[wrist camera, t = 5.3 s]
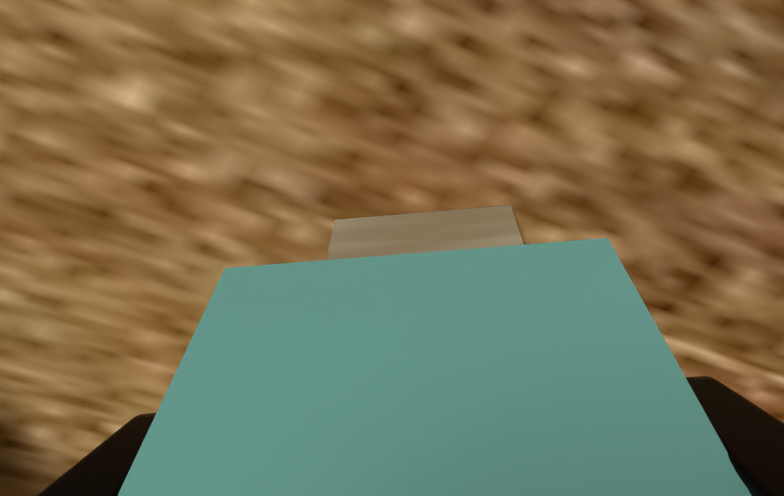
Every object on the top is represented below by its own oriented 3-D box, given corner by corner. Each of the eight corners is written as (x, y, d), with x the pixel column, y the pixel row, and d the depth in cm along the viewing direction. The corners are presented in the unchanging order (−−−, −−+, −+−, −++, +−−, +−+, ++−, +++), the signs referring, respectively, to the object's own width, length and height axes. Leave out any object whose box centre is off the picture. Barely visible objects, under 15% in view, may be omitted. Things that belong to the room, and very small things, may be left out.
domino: (334, 219, 20) (295, 402, 13) (510, 205, 20) (568, 384, 13) (342, 268, 21) (309, 467, 14) (512, 255, 21) (567, 451, 14)
